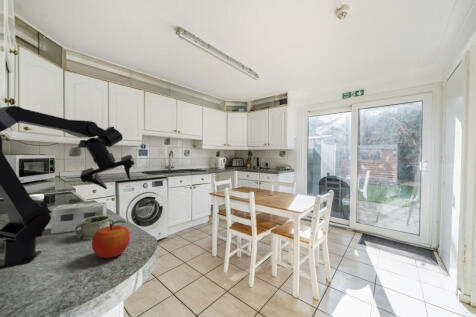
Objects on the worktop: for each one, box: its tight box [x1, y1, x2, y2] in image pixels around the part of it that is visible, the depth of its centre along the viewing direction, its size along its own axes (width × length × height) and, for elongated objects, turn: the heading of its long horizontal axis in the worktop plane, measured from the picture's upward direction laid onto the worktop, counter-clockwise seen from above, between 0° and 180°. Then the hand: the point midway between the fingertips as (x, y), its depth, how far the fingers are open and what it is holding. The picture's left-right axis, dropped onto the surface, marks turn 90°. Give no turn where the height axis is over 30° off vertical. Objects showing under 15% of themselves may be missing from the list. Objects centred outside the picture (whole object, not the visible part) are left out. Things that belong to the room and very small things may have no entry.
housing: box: [50, 201, 107, 235], centre depth 78 cm, size 8×16×9 cm, turn 117°
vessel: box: [74, 215, 115, 240], centre depth 70 cm, size 12×9×6 cm
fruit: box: [91, 219, 131, 259], centre depth 56 cm, size 10×10×10 cm
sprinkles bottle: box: [29, 193, 45, 201], centre depth 77 cm, size 5×5×13 cm
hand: (118, 184), depth 81 cm, fingers open, 9 cm apart
